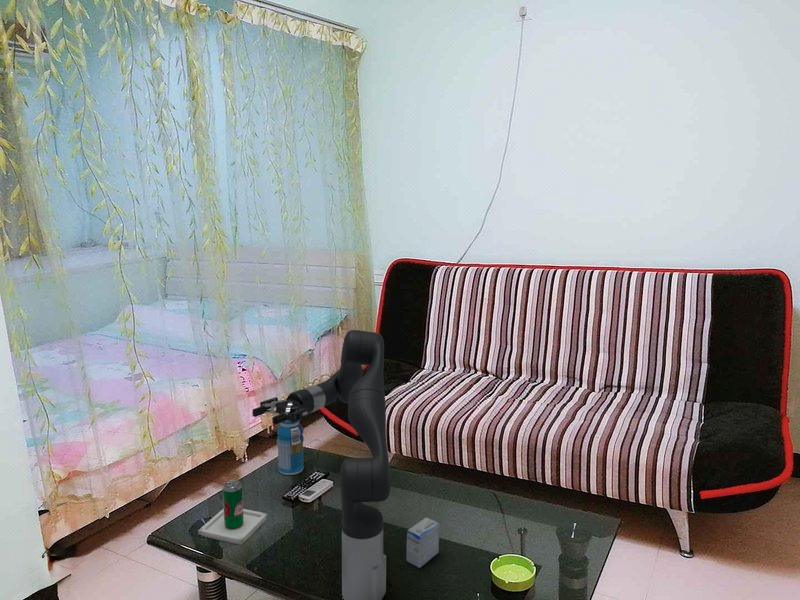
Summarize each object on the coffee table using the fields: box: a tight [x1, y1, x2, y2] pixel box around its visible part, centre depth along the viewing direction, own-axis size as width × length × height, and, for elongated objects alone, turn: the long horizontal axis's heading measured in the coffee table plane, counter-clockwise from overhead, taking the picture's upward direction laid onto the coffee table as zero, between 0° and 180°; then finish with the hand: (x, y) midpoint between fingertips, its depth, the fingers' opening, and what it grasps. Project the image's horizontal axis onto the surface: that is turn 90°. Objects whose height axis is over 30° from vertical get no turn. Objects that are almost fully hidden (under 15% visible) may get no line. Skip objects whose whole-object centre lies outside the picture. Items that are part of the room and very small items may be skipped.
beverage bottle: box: [276, 417, 305, 476], centre depth 192 cm, size 8×8×20 cm
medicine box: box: [405, 517, 440, 569], centre depth 149 cm, size 8×4×9 cm, turn 141°
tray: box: [197, 507, 268, 546], centre depth 162 cm, size 13×13×2 cm
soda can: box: [222, 479, 244, 529], centre depth 161 cm, size 5×5×12 cm
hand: (263, 417), depth 165 cm, fingers open, 8 cm apart
